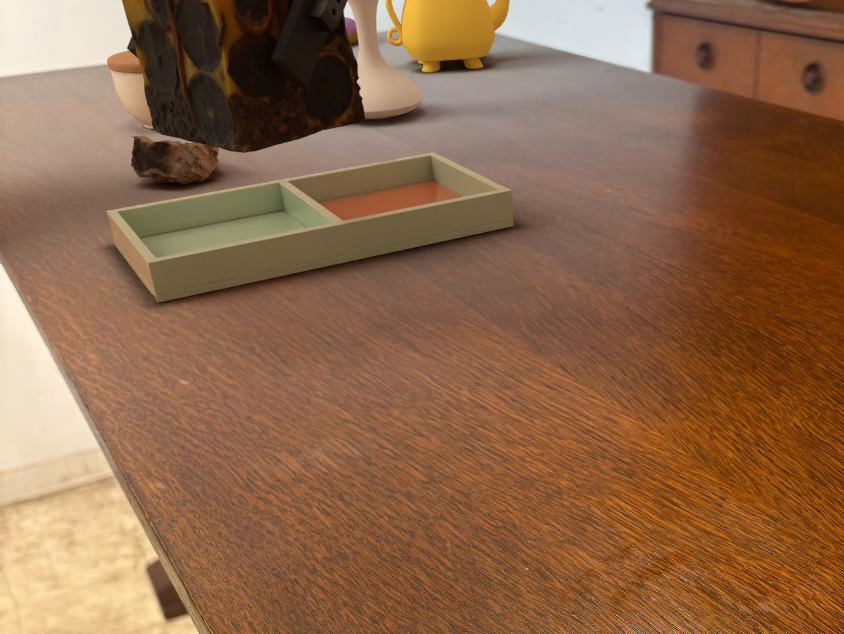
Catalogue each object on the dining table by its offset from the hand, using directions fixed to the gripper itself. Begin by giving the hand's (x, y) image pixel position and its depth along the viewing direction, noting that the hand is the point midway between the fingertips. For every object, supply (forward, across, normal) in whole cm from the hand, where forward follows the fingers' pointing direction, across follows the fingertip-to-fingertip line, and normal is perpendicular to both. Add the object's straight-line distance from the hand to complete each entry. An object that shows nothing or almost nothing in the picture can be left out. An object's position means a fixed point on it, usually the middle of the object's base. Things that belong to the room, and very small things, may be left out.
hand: (214, 68), depth 67 cm
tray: (0, +10, -24) cm, 26 cm away
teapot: (-49, +40, -74) cm, 97 cm away
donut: (-55, +69, -80) cm, 119 cm away
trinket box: (-19, +54, -44) cm, 72 cm away
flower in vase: (-27, +32, -52) cm, 66 cm away
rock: (-7, +35, -32) cm, 48 cm away
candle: (+1, 0, -5) cm, 5 cm away
